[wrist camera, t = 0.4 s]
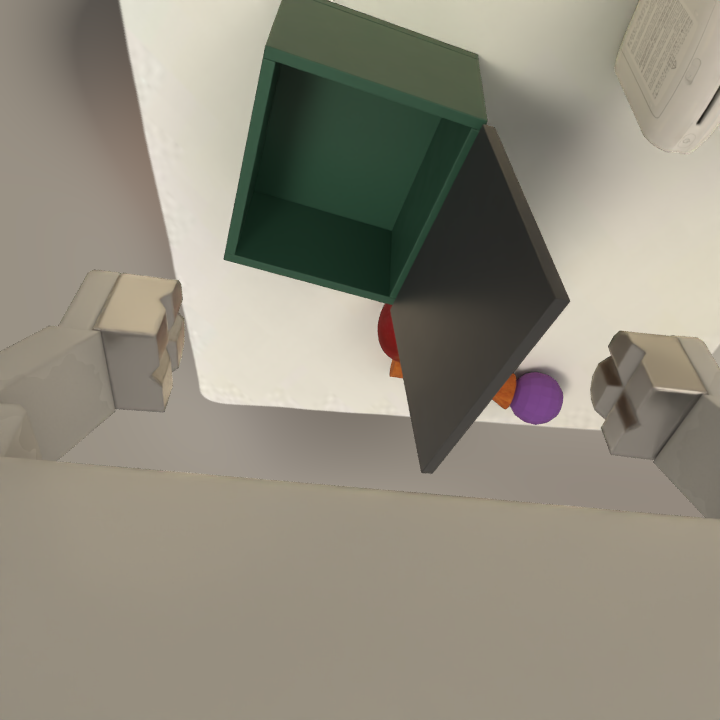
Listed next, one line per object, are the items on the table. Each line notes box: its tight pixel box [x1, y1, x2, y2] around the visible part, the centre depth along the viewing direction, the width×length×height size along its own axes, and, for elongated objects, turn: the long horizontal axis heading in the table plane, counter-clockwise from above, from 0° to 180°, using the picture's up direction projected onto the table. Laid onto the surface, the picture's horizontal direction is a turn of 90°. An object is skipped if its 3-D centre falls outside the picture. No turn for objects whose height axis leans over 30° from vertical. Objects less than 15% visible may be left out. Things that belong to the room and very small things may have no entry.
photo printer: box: [614, 0, 720, 154], centre depth 40 cm, size 10×4×12 cm, turn 173°
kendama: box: [390, 359, 563, 425], centre depth 72 cm, size 6×6×20 cm
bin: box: [224, 0, 488, 305], centre depth 49 cm, size 15×18×10 cm
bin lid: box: [390, 124, 570, 474], centre depth 42 cm, size 15×18×1 cm
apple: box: [378, 303, 400, 363], centre depth 63 cm, size 8×8×8 cm
